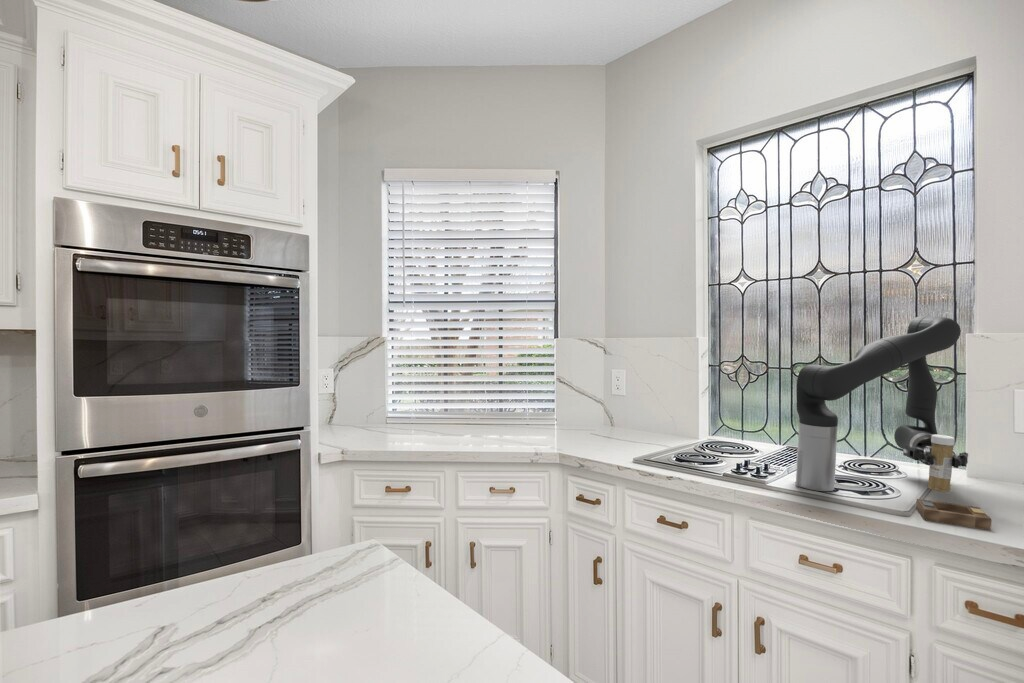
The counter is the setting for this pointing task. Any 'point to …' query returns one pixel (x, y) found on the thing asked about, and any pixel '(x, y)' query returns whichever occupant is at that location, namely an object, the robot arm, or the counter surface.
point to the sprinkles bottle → (941, 462)
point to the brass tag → (977, 511)
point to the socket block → (953, 514)
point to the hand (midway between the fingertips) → (944, 461)
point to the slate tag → (927, 504)
